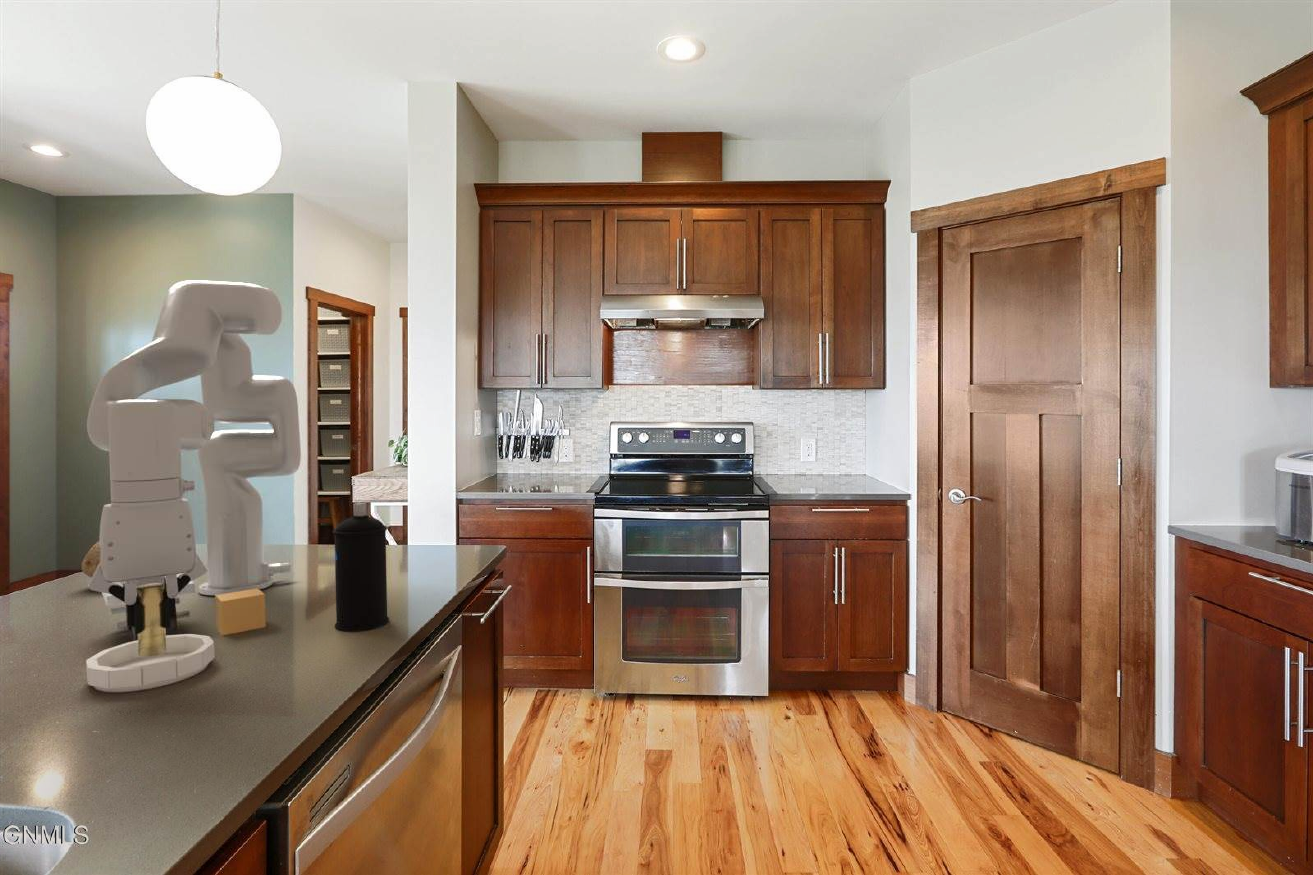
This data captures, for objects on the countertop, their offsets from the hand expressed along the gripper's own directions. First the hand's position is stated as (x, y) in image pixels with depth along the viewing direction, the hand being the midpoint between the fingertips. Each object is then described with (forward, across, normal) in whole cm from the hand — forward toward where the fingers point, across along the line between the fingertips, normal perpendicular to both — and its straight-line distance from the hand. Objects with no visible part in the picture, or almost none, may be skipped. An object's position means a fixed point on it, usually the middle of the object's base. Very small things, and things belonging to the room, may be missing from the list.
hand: (151, 627), depth 89 cm
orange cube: (+6, -13, -14) cm, 20 cm away
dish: (+6, 0, 0) cm, 6 cm away
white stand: (+6, -2, -22) cm, 23 cm away
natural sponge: (+6, 0, -63) cm, 63 cm away
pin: (+3, 0, 0) cm, 3 cm away
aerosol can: (+6, -28, -2) cm, 29 cm away
